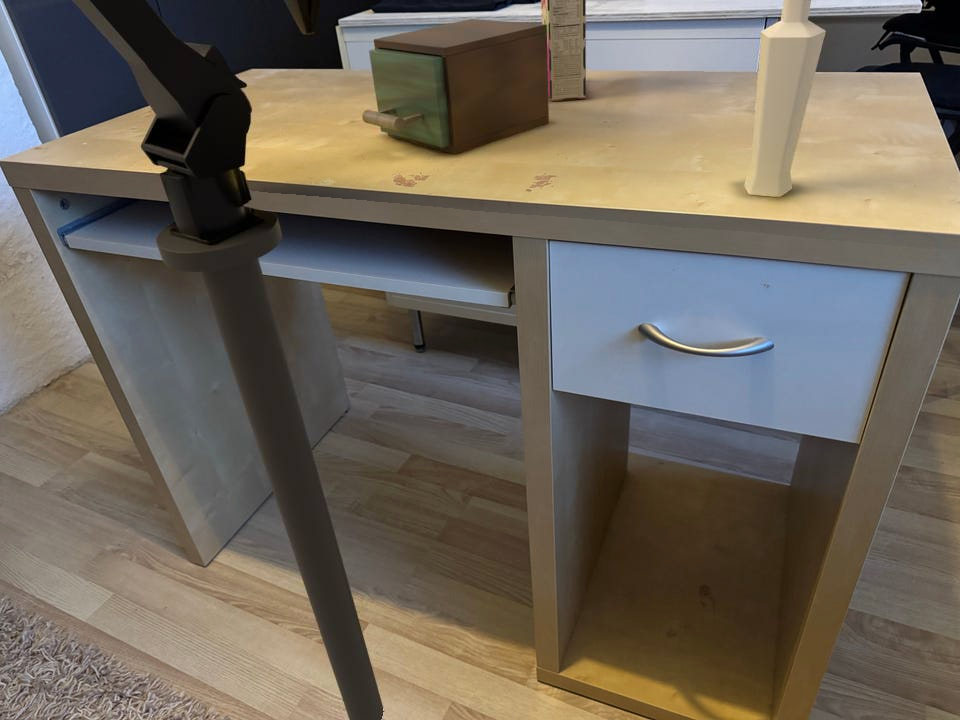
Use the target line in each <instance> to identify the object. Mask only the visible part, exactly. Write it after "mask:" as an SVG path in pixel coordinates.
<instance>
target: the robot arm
mask: <svg viewBox="0 0 960 720" xmlns="http://www.w3.org/2000/svg"><path fill="white" fill-rule="evenodd" d="M71 1H72V2H73V3H74V5H75V6H76V7H77V8H78V9H79V10H80V11H81V13H82V14H84V15H85V17H86V18H87V19H88V20H89V21H90V22H91V24H93V25H94V27H95V28H96V29H97V30H98V31H99V32H100V33H101V34H102V35H103V37H104V38H105V39H106V40H107V41H108V42H109V44H110V45H112V46H113V48H114V49H115V50H116V51H117V52H118V54H119V55H121V57H122V58H123V59H124V60H125V61H126V62H127V64H128V65H129V67H130V68H131V71H132V74H133V76H134V78H135V80H136V83H137V85H138V87H139V90H140V92H141V94H142V97H143V98H144V100H145V101H146V103H147V104H148V106H149V107H150V108H151V111H152V112H153V113H154V114H155V115H154V117H153V120H152V122H151V124H150V126H149V128H148V129H147V132H146V134H145V135H144V138H143V140H142V142H141V144H140V149H141V150H142V152H143V153H144V154H145V155H146V157H147V158H148V159H149V160H150V162H151V163H152V164H153V165H154V166H156V167H163V168H166V170H164V171H163V172H160V173H159V176H160V180H161V183H162V186H163V189H164V192H165V194H166V197H167V200H168V204H169V206H170V209H171V212H172V216H173V218H174V222H176V224H177V227H174V228H172V229H170V230H169V231H170V234H171V235H172V236H176V237H179V238H183V239H187V240H190V241H194V242H197V243H201V244H205V245H209V246H212V245H215V244H218V243H220V242H222V241H224V240H226V239H228V238H230V237H233V236H235V235H237V234H239V233H241V232H243V231H245V230H248V229H250V228H252V227H254V226H256V225H258V224H260V223H263V222H264V218H263V216H260V215H256V214H252V213H253V212H254V209H255V208H253V207H249V206H246V204H249V203H250V201H252V199H253V198H252V194H251V192H250V187H249V185H248V184H249V183H248V181H247V177H246V173H245V171H243V170H242V169H241V168H242V167H244V166H245V165H246V152H247V135H248V133H249V130H250V128H251V124H252V113H253V107H252V104H251V101H250V100H249V98H248V96H247V94H246V92H245V91H243V89H246V88H247V87H248V84H247V83H246V82H245V81H244V80H242V79H240V78H239V77H237V75H236V74H235V73H234V72H233V71H232V70H231V68H230V66H229V65H228V62H227V61H226V59H225V57H224V56H223V54H222V53H221V52H220V50H219V49H218V47H216V46H215V45H210V44H203V43H201V44H200V43H192V42H184V41H182V39H180V38H179V37H178V36H177V35H176V34H175V33H174V32H173V30H172V29H171V28H170V27H169V26H168V24H167V23H166V21H164V19H163V18H162V17H161V16H160V14H158V13H159V12H157V11H156V9H154V7H153V6H152V5H151V3H150V2H149V1H148V0H71ZM321 1H322V0H283V2H284V3H285V5H286V8H287V9H288V11H289V13H290V14H291V16H292V18H293V20H294V21H295V23H296V25H297V27H298V29H299V31H300V32H301V34H303V35H312V34H314V33H315V30H316V26H317V20H318V16H319V12H320V6H321Z"/></svg>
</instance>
